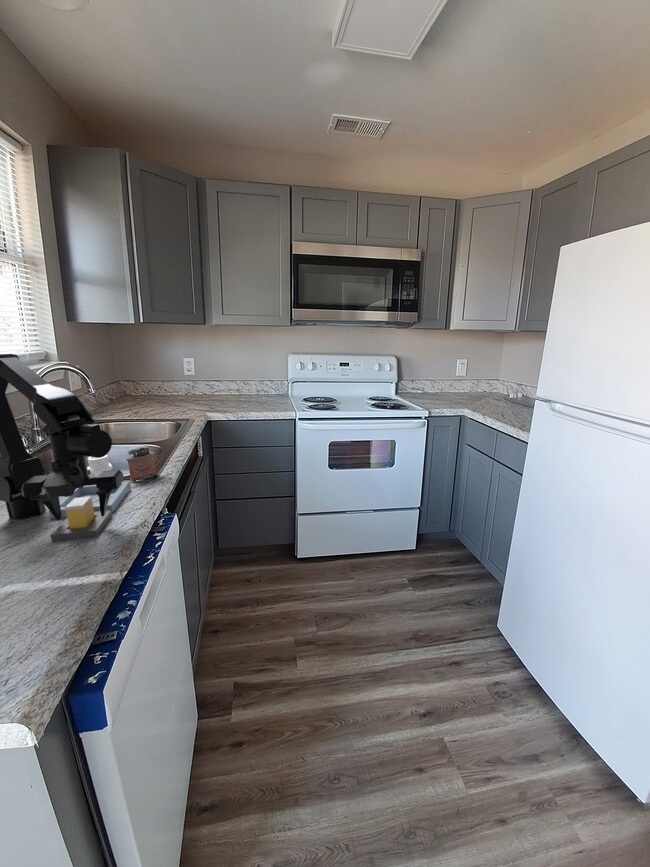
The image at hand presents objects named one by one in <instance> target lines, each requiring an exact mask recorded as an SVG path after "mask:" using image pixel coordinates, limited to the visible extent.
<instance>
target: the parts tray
mask: <svg viewBox="0 0 650 867" xmlns="http://www.w3.org/2000/svg"><path fill="white" fill-rule="evenodd" d="M98 490H99V489H98V488H97V487H96V485H88V486H83V488H77V489H76V490H75V492H74V494H73V495H71V496H69V497H64V496H62V498H61V499H59V502H60V508H61V519H62V518H67V514H66V509H65V507H66V506H67V505H68V504H69V503H70V502H71V501H72V500H73V499H74V498H80V497H89V496H98V495H97V493H96V492H97V491H98ZM131 492H132V486H131V482H130V480H129V481H127V480H126V481H123V482H122V483H121V484H120V485H119V487H118V488H117V489H114V490H113V491H112V492H111V494H110V495H111V496H110V498H109V501H108V505H107V509H106V511H110V510H111V513H112V514H113V513H114V512H115V510H116V508H118V506H119V505H120V503H121V502H122V501H123V500H124V499H125V497H126V495H128V493H131ZM112 494H113V495H112ZM93 509H94V512H99V511H100V503H95V504H94V503H93ZM48 514H49V519H56V518H55V517H54V516H53V514H52V513H51V512H50V510H49V509H48Z"/></svg>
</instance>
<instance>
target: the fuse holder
mask: <svg viewBox="0 0 650 867" xmlns="http://www.w3.org/2000/svg"><path fill="white" fill-rule="evenodd" d="M94 514H95V519H94V521H93V522H92V523H91V524H90V526H89V527H85V528H74V529H70V528H69V523H68V519H67V517H65V519H64V520H63V521H62V522H61V523H60V524H59V525H58V526H57V527H56V529H54V531H52V533H51V534H50V539H51V542H59V541H68V540H79V539H88V538H96V537H99V535H100V534H101V532H102V531H103V529H105V526H107V524H108V522H109V521H110V520H111V519H112V517H113V513H111V510H110V511H106V513H105V515H104V516H102V515H101V512H100V511H99V512H94Z"/></svg>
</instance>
